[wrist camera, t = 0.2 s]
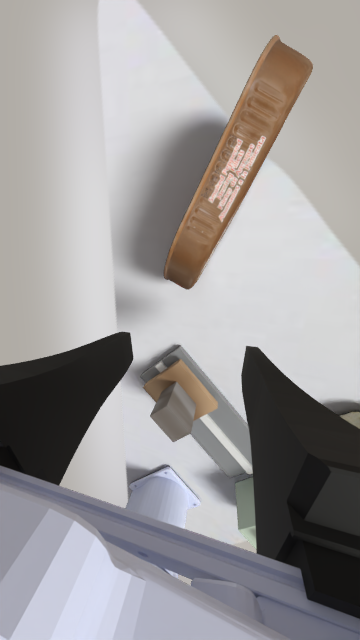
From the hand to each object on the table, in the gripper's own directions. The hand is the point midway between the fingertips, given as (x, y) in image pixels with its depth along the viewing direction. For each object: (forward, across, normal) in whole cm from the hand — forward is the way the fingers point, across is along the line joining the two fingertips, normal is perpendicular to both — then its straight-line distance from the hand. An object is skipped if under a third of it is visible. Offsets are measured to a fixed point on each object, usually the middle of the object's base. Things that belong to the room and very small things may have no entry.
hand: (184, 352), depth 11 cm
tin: (+12, -1, -9) cm, 15 cm away
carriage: (+7, +2, +11) cm, 13 cm away
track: (+8, -1, +15) cm, 17 cm away
